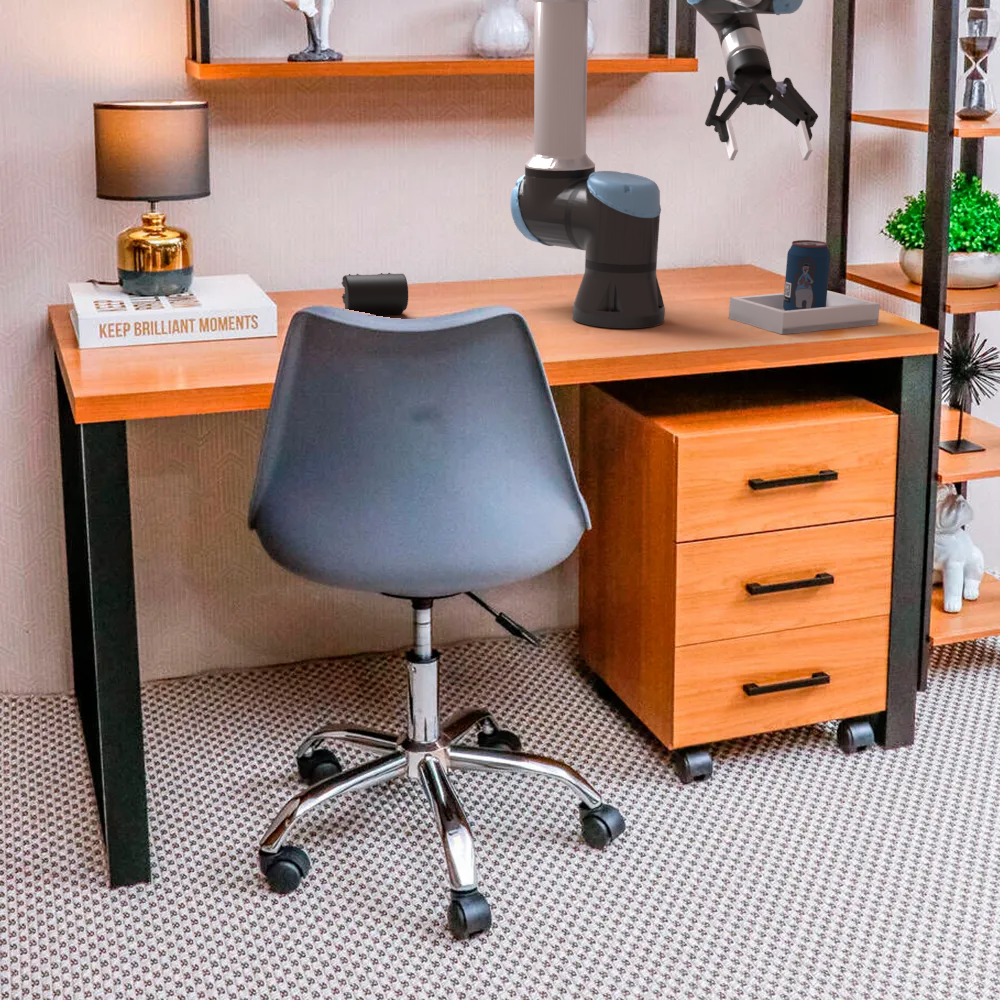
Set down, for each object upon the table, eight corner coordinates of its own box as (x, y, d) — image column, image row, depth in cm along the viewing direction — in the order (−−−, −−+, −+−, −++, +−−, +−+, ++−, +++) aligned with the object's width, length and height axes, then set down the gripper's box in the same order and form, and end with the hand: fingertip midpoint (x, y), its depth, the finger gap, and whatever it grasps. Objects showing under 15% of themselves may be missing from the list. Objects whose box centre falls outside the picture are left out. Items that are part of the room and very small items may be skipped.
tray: (781, 334, 227) (783, 312, 226) (728, 318, 239) (730, 297, 238) (877, 324, 236) (880, 303, 235) (821, 309, 248) (823, 289, 247)
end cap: (348, 320, 232) (348, 278, 230) (340, 312, 238) (339, 271, 236) (408, 317, 235) (408, 276, 233) (398, 309, 241) (398, 269, 239)
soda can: (812, 310, 242) (818, 239, 238) (832, 318, 235) (839, 245, 231) (775, 312, 240) (780, 240, 236) (794, 320, 233) (800, 246, 230)
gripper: (804, 76, 262) (830, 169, 254) (674, 74, 257) (696, 169, 249) (819, 47, 256) (846, 141, 247) (686, 44, 251) (708, 140, 242)
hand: (771, 155), depth 248 cm, fingers open, 13 cm apart
